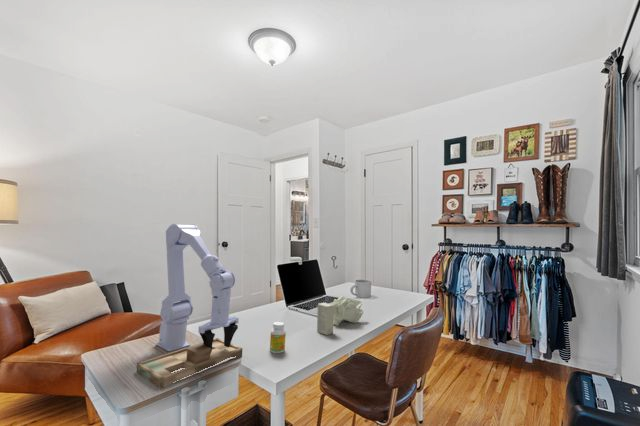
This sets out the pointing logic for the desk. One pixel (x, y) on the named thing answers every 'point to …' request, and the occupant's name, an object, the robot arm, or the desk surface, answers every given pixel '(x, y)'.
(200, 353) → the walnut block
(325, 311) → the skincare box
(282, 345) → the supplement bottle
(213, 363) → the tray
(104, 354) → the desk surface
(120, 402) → the desk surface
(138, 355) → the desk surface
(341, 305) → the wavy plaster lump
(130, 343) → the desk surface
